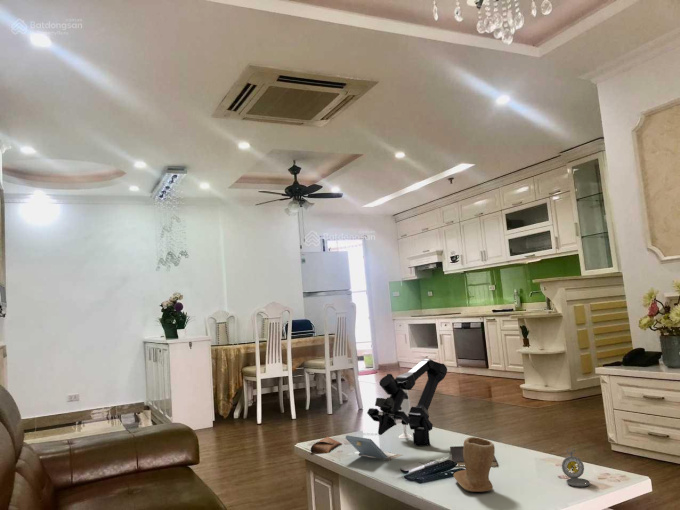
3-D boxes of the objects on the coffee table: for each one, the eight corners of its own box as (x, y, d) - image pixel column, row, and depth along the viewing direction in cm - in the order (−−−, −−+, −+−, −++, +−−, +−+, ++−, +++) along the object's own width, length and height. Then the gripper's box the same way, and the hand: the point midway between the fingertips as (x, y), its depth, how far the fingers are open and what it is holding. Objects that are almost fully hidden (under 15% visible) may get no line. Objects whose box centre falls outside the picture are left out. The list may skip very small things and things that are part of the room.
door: (363, 452, 207) (346, 435, 202) (387, 456, 198) (370, 439, 193) (360, 457, 206) (344, 440, 201) (385, 461, 197) (368, 444, 192)
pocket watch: (580, 489, 155) (576, 454, 156) (557, 482, 162) (553, 449, 164) (598, 484, 159) (594, 450, 160) (574, 477, 166) (571, 445, 168)
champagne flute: (397, 438, 237) (394, 385, 240) (398, 435, 243) (395, 383, 247) (412, 438, 236) (408, 384, 239) (412, 435, 242) (409, 383, 246)
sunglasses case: (329, 453, 217) (320, 439, 218) (316, 461, 218) (308, 447, 220) (343, 443, 233) (335, 430, 235) (331, 451, 235) (323, 438, 237)
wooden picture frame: (375, 452, 214) (374, 448, 214) (404, 458, 202) (404, 453, 203) (358, 457, 207) (358, 453, 207) (388, 463, 196) (388, 458, 196)
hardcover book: (452, 468, 187) (452, 461, 187) (450, 452, 209) (450, 446, 210) (498, 467, 184) (497, 460, 185) (490, 451, 207) (490, 445, 207)
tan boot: (503, 493, 155) (498, 442, 157) (464, 496, 155) (459, 444, 157) (489, 478, 170) (484, 432, 172) (453, 481, 170) (449, 434, 172)
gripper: (368, 388, 218) (351, 420, 209) (402, 390, 205) (386, 424, 196) (382, 404, 223) (366, 436, 213) (416, 407, 209) (401, 441, 200)
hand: (379, 434), depth 206 cm, fingers closed
